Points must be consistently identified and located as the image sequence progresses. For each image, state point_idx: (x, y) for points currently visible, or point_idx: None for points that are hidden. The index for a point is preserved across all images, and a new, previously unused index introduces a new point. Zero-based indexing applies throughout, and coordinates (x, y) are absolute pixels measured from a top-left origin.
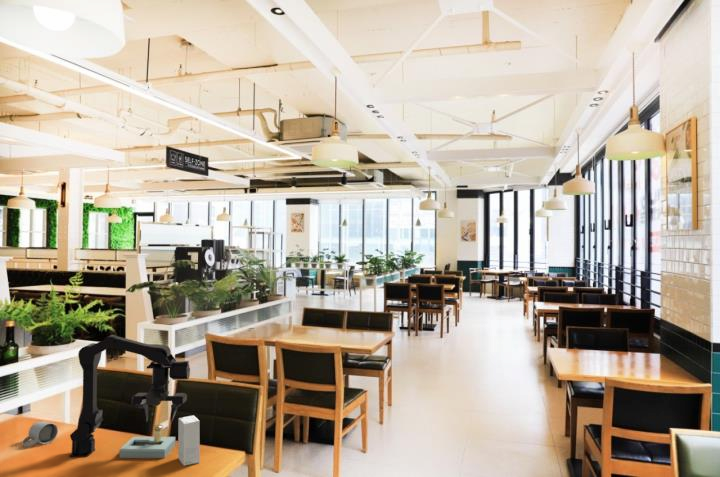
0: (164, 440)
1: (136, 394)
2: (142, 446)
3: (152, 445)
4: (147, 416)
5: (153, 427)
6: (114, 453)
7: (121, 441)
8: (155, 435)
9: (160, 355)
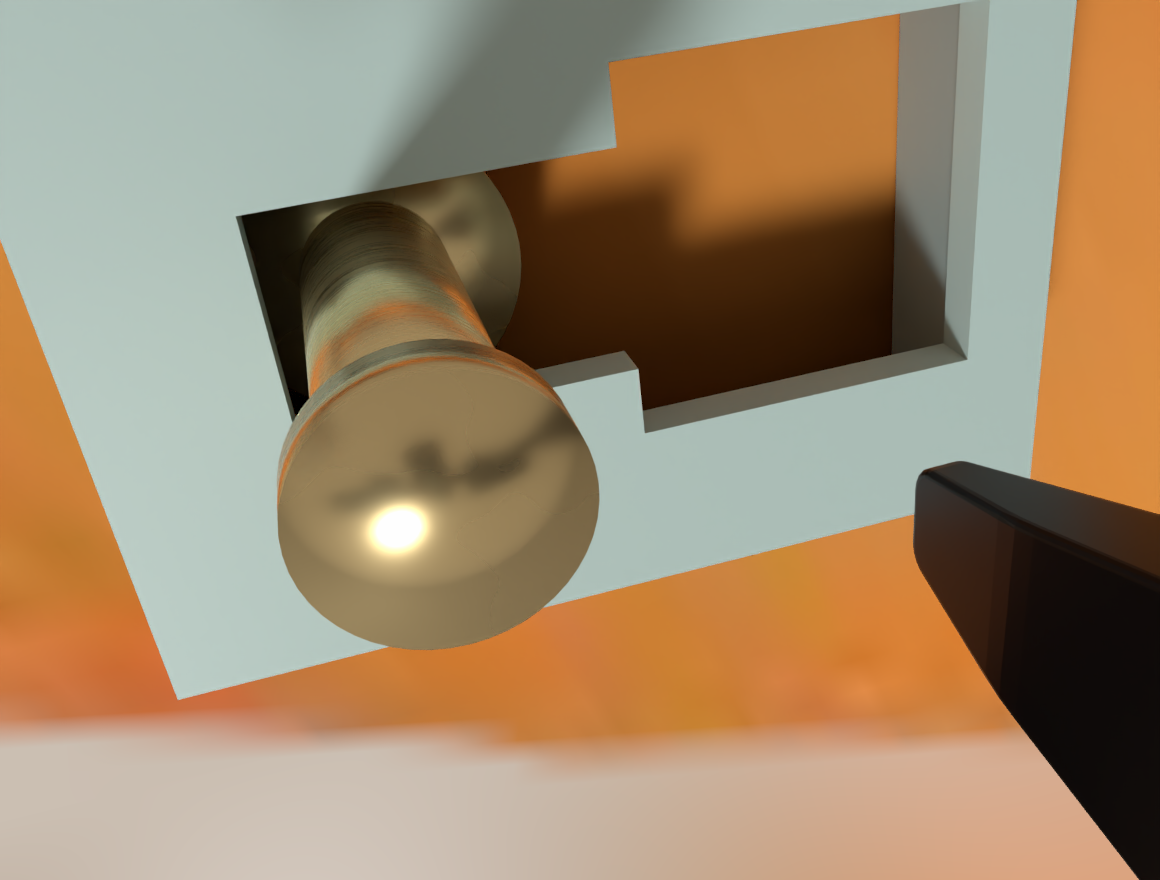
0: None
1: None
2: (631, 14)
3: (412, 121)
4: (1027, 660)
5: (571, 417)
6: (1127, 4)
7: (1151, 495)
8: (429, 302)
9: None
